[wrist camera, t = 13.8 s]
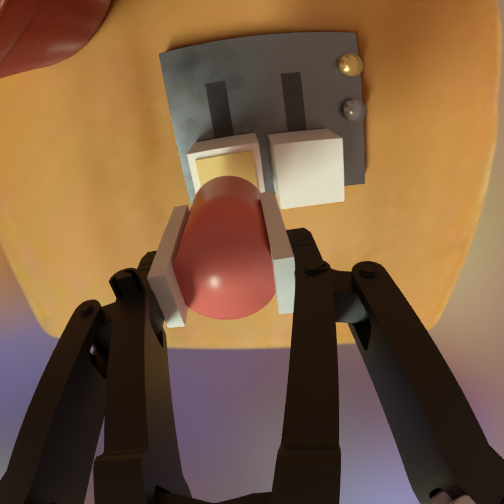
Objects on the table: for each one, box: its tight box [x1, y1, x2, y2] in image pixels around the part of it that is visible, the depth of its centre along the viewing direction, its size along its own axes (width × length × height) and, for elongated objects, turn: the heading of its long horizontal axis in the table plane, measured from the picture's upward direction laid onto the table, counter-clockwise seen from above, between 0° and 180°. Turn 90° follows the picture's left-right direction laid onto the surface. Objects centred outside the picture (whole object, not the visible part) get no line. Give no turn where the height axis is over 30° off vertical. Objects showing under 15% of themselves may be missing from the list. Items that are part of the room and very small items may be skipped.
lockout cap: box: [173, 176, 276, 320], centre depth 15 cm, size 4×4×7 cm
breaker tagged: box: [187, 133, 265, 193], centre depth 23 cm, size 5×5×4 cm
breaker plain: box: [268, 129, 344, 209], centre depth 23 cm, size 5×5×4 cm
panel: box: [159, 32, 367, 206], centre depth 23 cm, size 14×16×2 cm
